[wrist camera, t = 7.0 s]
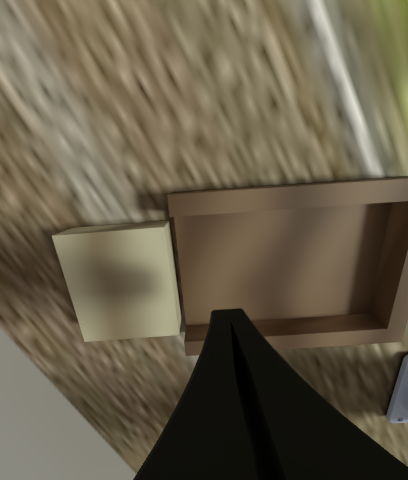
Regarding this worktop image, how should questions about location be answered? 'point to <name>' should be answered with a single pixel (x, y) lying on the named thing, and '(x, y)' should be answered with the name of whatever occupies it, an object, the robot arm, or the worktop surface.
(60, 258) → the beige rectangular block
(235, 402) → the robot arm
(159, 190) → the worktop surface
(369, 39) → the worktop surface
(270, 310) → the walnut box
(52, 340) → the worktop surface
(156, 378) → the worktop surface
